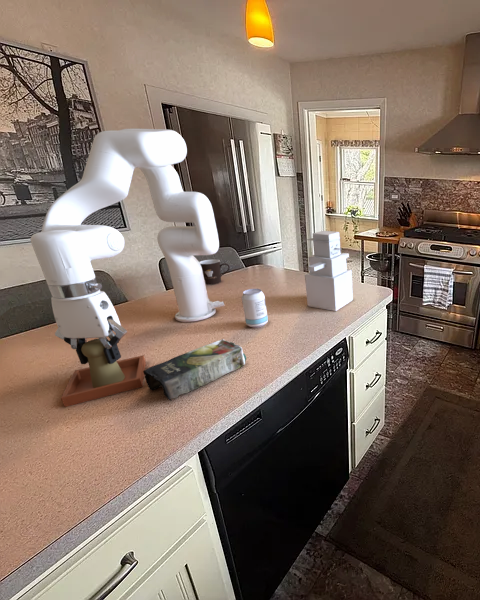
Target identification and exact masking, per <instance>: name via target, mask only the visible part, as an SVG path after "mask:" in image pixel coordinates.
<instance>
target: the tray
mask: <svg viewBox="0 0 480 600" xmlns="http://www.w3.org/2000/svg"><path fill="white" fill-rule="evenodd" d="M117 363H118V365H119V367H120V368H121V370H122V372H123V374H124V375H125V378H124V380H123V381H121V382H117V383H113V384H109V385H105V386H101V387H97V388H93V386H92V380H91V374H90V368H89V366H88V367H84V368H80V369H76V370H74V371H73V373H72V375H71V377H70V379H69V381H68V383H67V385H66V387H65V389H64V392H63V393H62V395H61V397H60V399H61V401H62V403H63V405H64V407H65V408H66V407H70V406H74V405H79V404H81V403H86V402H89V401H93V400H94V401H95V400H97V399H102V398H106V397H109V396H112V395H116V394H120V393H124V392H129V391H132V390H135V389H140V388H143V385H144V378H145V375H144V373H143V371H144V370H146V365H147V361H146V359H145V355H143V354H142V355H139V356H134V357H129V358H126V359H119V360H117Z"/></svg>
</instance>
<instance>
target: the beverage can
mask: <svg viewBox="0 0 480 600" xmlns="http://www.w3.org/2000/svg"><path fill="white" fill-rule="evenodd" d="M241 303H242V307H243V309H242V310H243V315H244V321H245V325H246V326H247V327H250V328H253V329H255V328H257V329H258V328H260V327H263V326H265V325H266V324H267V323H268V321H269V319H268V311H267V305H266V304H267V303H266V297H265V294H264V292H263V291H262V289H261V288H249V289H245V290H244V291H242V294H241Z"/></svg>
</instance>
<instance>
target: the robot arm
mask: <svg viewBox="0 0 480 600" xmlns="http://www.w3.org/2000/svg"><path fill="white" fill-rule="evenodd" d="M187 154H188V148H187V144H186V141H185V139H184V138H183V137H182V135H181V134H179V133H178V132H177V131H176V130H173V129H164V128H122V129H119V130H114V129H113V130H111V129H110V130H102V131H100V132H98V133H96V135H95V136H94V138H93V141H92V143H91V147H90V150H89V153H88V157H87V160H86V163H85V167H84V170H83V173H82V177H81V179H80V180H79V181H78V182H77V183H76V184H74V185H72V186H71V187H70V188H68V189H67V190H65V192H63V193H62V194H61V195H60V196H59V197H58V198H56V199H55V200H54V201H53V203H52V204H51V205H50V206H49V208H48V210H47V211H46V214H45V217H44V219H43V224H42V227H41V231H39V232H36V233H33V234H32V235H31V237H30V243H31V247H32V249H33V251H34V254H35V256H36V258H37V261H38V264H39V267H40V269H41V271H42V274H43V276H44V280H45V281H46V284H47V287H48V290H49V291H50V294H51V297H50V299H51V301H50V302H51V308H52V313H53V318H54V321H55V323H56V326H57V329H56V330H55V332H54V336H55V337H57V338H59V339H61V340H63V341H64V342H65V343H66V344H68V345H70V348H71V349H72V350H75V352H76V355H77V357H78V360H79V363H80V364H81V365H86V364H89V363H88V357H86V356H85V355H84V354H83V353H82V351H81V348H82V346H83V344H85V343H86V342H88V339H99V340H100V341H101V342H102V344H103V345H104V346H105V349H103V351H104V353H105V356H106V359H107V362H108V363H109V364H113V363H114V362H115V361H119V360H121V358H122V355H121V352H120V349H119V346H118V344H119V343H120V342H121V340H122V339H123V337H124V336H125V335H126V334H128V330H127V329H126V328H125V327H123V326H122V324H121V322H120V319H119V315H118V314H117V312H116V309H115V307H114V305H113V303H112V301H111V299H110V298H109V295H107V293H106V292H105V291H104V290H102V289H103V285H102V283H99V282H98V280H97V278H96V274H95V270H94V268H93V265H92V261H95V260H102V259H108V258H113V257H116V256H117V255H120V253H122V251H123V250H124V248H125V238H124V236H123V234H122V233H121V232H120V231H119V230H117V229H116V228H115V227H112V226H109V225H103V224H82V223H83V222H84V221H85V220H86V219H87V218H88V217H89V216H90V215H92V214H94V213H96V212H97V211H100V210H101V209H105V208H107V207H109V206H112V205H115V204H117V203H120V202H121V201H123V200H125V199H126V198H127V197H128V195H129V192H130V188H131V183H132V179H133V175H134V172H135V169H136V168H138V169H139V170H140V171H141V172H142V174H143V175H144V177H145V179H146V182H147V186H148V190H149V192H150V197H151V200H152V204H153V207H154V210H155V213H156V215H157V217H158V218H159V219H160V220H161V221H163V222H166V223H193V224H194V226H193V225H191V226H189V225H172V226H166V227H163V228H161V230H159V232H158V233H157V237H156V240H157V244H158V246H159V249H160V251H161V253H162V255H163V257H164V260H165V262H166V266H167V269H168V273H169V276H170V280H171V283H172V284H171V285H172V288H173V292H174V296H175V301H176V304H177V308H178V312H176V313H175V314H174V318H175V320H176V321H178V322H182V323H191V322H198V321H202V320H206V319H209V318H210V317H213V316H214V315H215V314H216V312H217V310H216V309H217V308H223V307H225V302H224V301H220V300H216V301H212V300H211V299H210V298H209V295H208V291H207V284H206V283H205V280H204V276H203V271H202V267H201V265H200V263H199V262H200V261H199V260H198V259H197V257H195V256H212V255H215V254H216V253H218V251H219V248H220V240H219V233H218V228H217V223H216V218H215V213H214V209H213V206H212V203H211V201H210V200H209V198H208V197H207V195H205V194H204V193H203V192H198V191H184V190H183V187H182V183H181V179H180V176H179V174H178V171H176V169H175V168H174V167H173V165H176V164H179V163H182V162H183V161H184V160H185V159H186V157H187Z"/></svg>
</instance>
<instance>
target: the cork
mask: <svg viewBox="0 0 480 600" xmlns="http://www.w3.org/2000/svg"><path fill="white" fill-rule="evenodd" d="M103 349H105V346H104V345H103V344H102V342H101V341H100V340H99V338H93V339H90V340H87V342H86V343H85V344H83V346H82V348H81V351H82V353H83V354H84V355H85V356H86V357H88V363H87V364H88V367H89V368H90V374H91V380H92V386H93V388H97V387H101V386H105V385H109V384H113V383H117V382H121V381H123V380H124V378H125V375H124V374H123V372H122V370H121V368H120V367H119V365H118V363H117V361H118V360H117V361H115V362H114V363H113V364H109V363H108V362H107V359H106V356H105V353H104V351H103Z"/></svg>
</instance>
